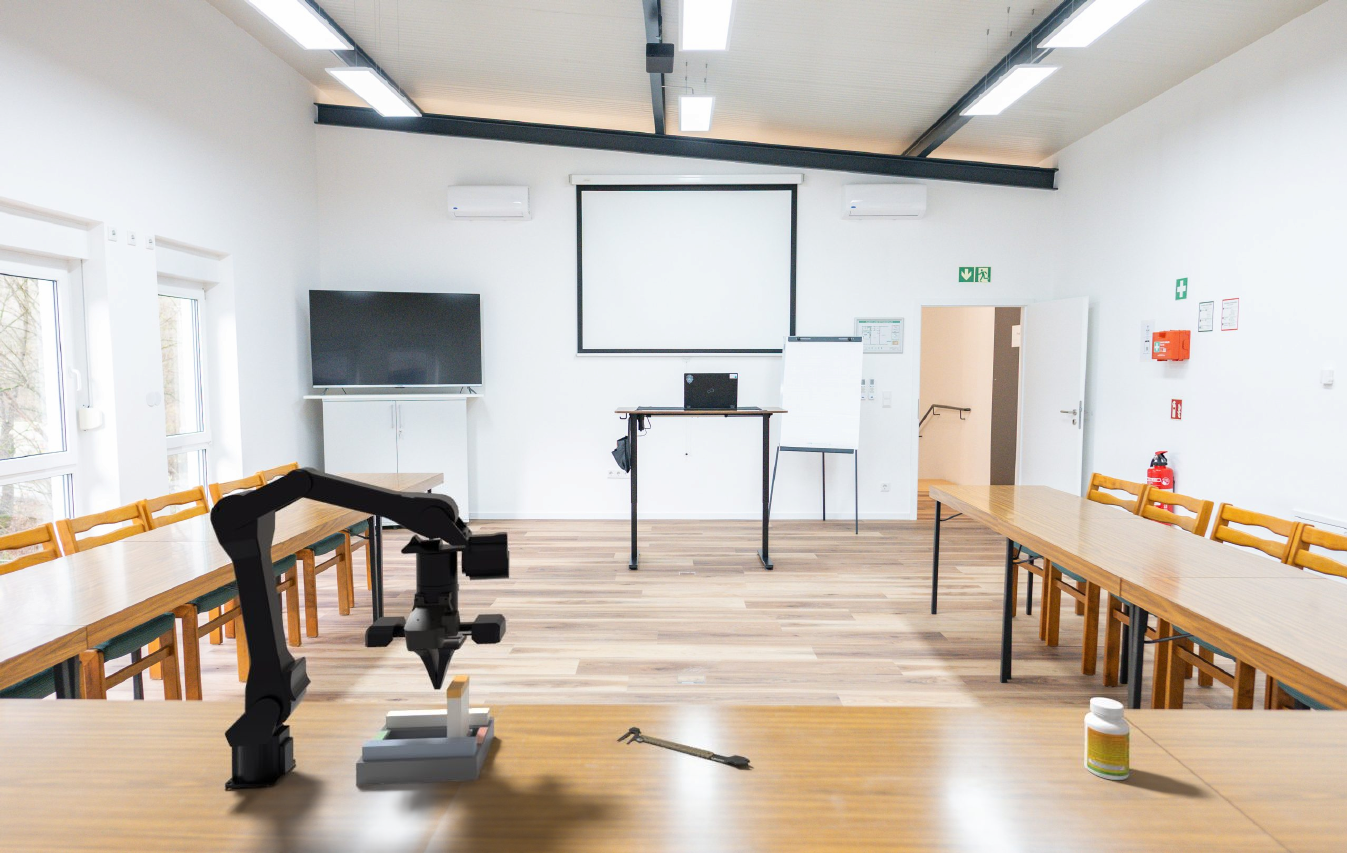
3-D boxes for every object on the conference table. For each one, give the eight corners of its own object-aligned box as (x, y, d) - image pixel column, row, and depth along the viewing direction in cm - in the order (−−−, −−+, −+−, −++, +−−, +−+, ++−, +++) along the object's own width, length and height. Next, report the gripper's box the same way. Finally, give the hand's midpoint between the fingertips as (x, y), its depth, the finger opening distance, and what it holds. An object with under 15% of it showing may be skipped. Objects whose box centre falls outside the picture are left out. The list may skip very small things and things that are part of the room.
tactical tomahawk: (607, 753, 103) (606, 746, 103) (632, 732, 109) (631, 725, 108) (732, 789, 92) (731, 782, 92) (752, 764, 98) (752, 757, 98)
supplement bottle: (1136, 783, 93) (1137, 712, 92) (1092, 778, 94) (1093, 708, 94) (1118, 763, 98) (1119, 696, 98) (1077, 759, 99) (1078, 693, 99)
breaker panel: (356, 784, 92) (355, 749, 92) (388, 739, 105) (388, 708, 105) (476, 780, 93) (476, 745, 93) (494, 735, 106) (494, 705, 106)
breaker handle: (443, 754, 96) (442, 689, 96) (452, 736, 102) (452, 675, 102) (464, 753, 97) (464, 689, 97) (472, 736, 102) (472, 674, 102)
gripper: (348, 598, 90) (350, 715, 90) (492, 594, 91) (493, 710, 92) (378, 578, 101) (379, 682, 101) (506, 575, 103) (506, 678, 103)
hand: (438, 688), depth 99 cm, fingers closed
